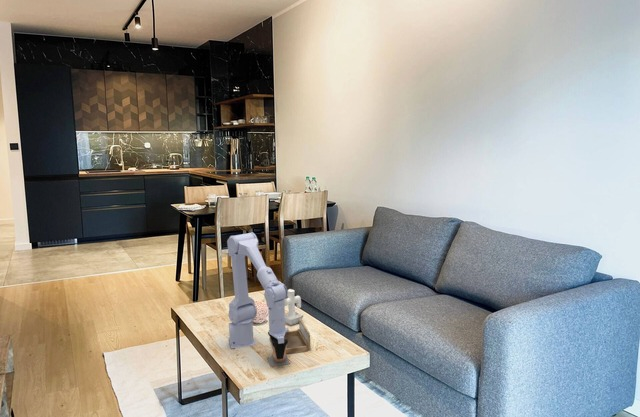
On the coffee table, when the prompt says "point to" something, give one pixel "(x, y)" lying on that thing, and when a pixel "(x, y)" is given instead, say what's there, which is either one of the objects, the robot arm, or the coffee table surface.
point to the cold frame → (295, 342)
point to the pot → (276, 357)
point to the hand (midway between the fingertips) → (278, 354)
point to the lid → (304, 332)
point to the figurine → (292, 308)
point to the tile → (278, 363)
